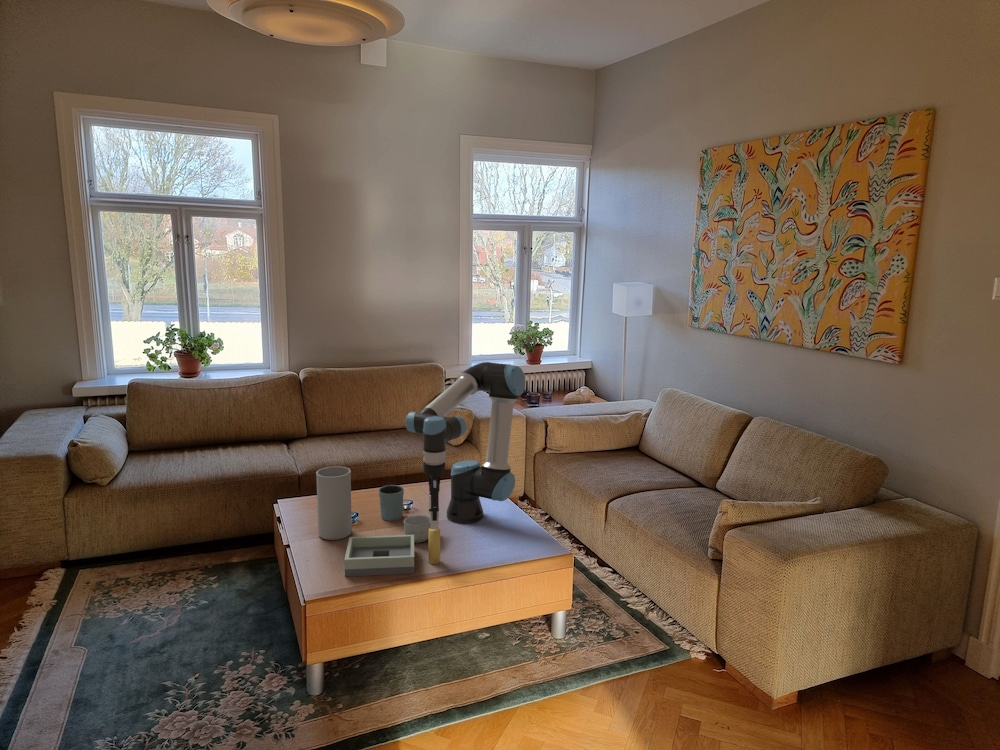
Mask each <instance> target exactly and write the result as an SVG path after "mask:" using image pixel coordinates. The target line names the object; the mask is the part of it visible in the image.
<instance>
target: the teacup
mask: <svg viewBox="0 0 1000 750" xmlns="http://www.w3.org/2000/svg"><path fill="white" fill-rule="evenodd" d="M429 529H430V515H429V516H428V515H423V514H422V515H421V514H416V515H411V516H408V517H406V518H404V520H403V530H404V535H414V543H422V542H427V541H428V540H429Z"/></svg>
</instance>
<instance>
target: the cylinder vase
mask: <svg viewBox="0 0 1000 750" xmlns="http://www.w3.org/2000/svg"><path fill="white" fill-rule="evenodd" d="M315 473H316V498H317V499H316V501H317V505H316V506H317V528H318V529H317V531H318V533H317V534H318V536H319V537H320V538H321V539H324V540H327V541H336V540H337V541H338V540H343V539H346V538H347V537H349V536H350V535H351V534H352V533H353V532H352V531H353V527H352V526H353V525H352V524H353V523H352V484H351V482H352V481H351V480H352V477H351V476H352V475H351V469H350V468H348V467H345V466H327V467H322V468H320V469H318V470H316V472H315Z"/></svg>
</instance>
